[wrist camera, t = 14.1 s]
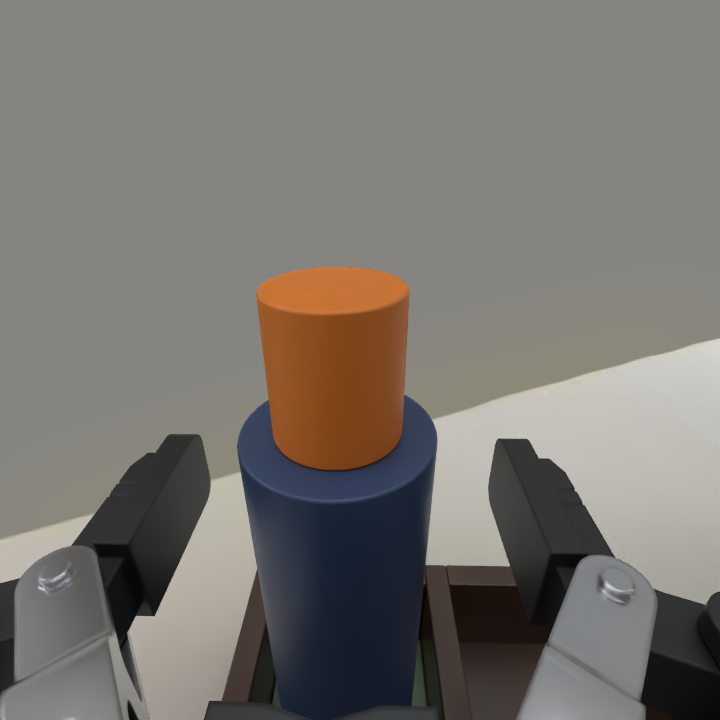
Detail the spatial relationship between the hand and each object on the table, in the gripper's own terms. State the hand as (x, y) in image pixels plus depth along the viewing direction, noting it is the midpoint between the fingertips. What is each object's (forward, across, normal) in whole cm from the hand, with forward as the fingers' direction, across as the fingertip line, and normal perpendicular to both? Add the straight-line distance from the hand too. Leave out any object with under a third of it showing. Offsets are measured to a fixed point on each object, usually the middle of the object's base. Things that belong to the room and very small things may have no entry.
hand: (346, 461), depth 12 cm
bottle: (-2, 0, +9) cm, 10 cm away
